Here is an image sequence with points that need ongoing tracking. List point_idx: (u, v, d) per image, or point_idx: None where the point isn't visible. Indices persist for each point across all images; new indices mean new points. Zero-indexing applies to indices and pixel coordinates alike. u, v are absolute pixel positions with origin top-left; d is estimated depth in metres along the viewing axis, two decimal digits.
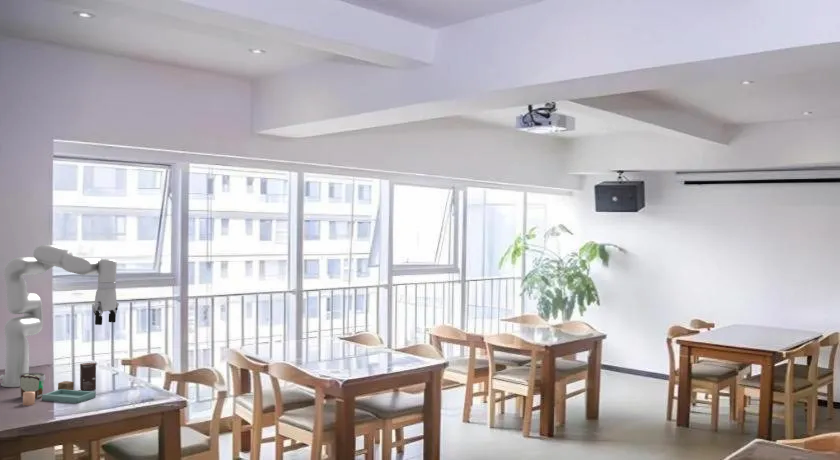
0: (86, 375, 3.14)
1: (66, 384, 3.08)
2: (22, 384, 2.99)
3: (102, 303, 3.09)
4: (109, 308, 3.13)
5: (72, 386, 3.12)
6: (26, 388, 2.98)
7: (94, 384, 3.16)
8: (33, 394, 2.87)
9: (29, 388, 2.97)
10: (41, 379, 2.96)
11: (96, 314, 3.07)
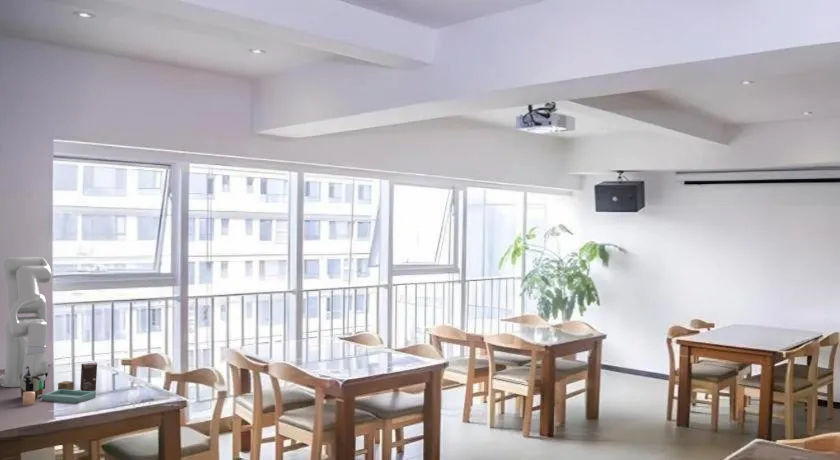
0: (87, 375, 3.14)
1: (66, 384, 3.08)
2: (22, 384, 2.99)
3: (31, 369, 2.95)
4: (39, 373, 2.99)
5: (72, 386, 3.12)
6: None
7: (95, 385, 3.16)
8: (33, 394, 2.87)
9: None
10: (41, 379, 2.96)
11: (26, 382, 2.95)
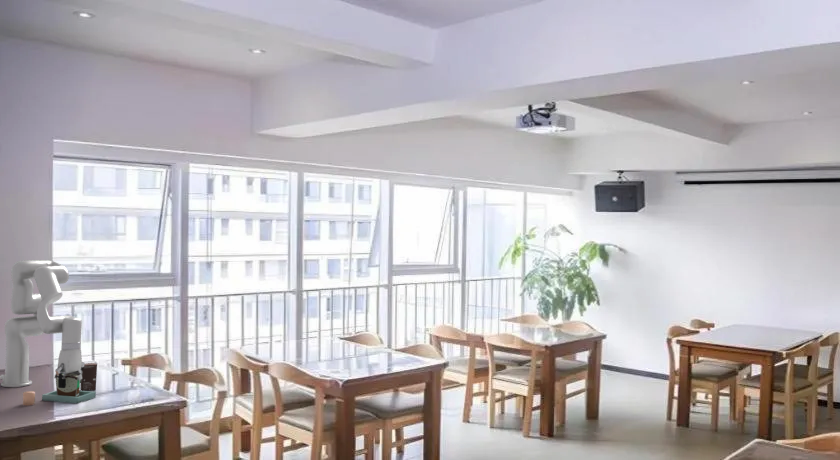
0: (87, 375, 3.14)
1: None
2: None
3: (66, 365, 2.93)
4: (73, 369, 2.98)
5: None
6: (63, 388, 2.97)
7: (95, 385, 3.16)
8: (33, 394, 2.87)
9: (67, 387, 2.97)
10: (79, 378, 2.96)
11: (59, 377, 2.92)
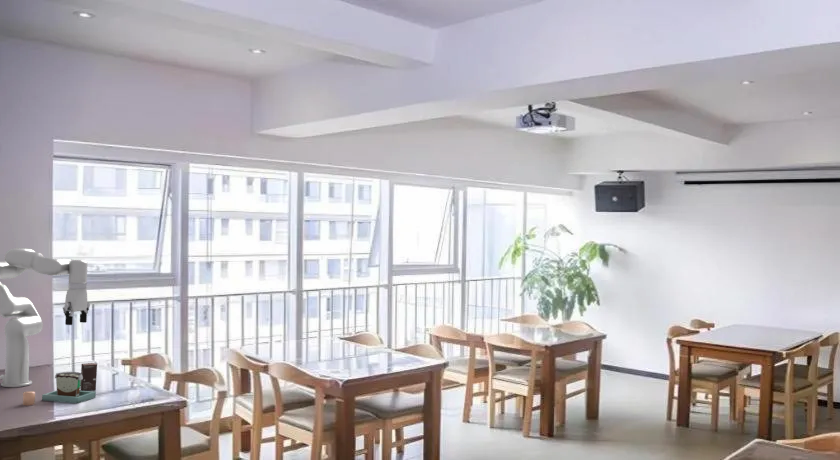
0: (87, 375, 3.14)
1: None
2: (58, 384, 2.98)
3: (72, 303, 3.11)
4: (80, 308, 3.15)
5: None
6: (63, 388, 2.98)
7: (95, 385, 3.16)
8: (33, 394, 2.87)
9: (67, 387, 2.97)
10: (80, 378, 2.97)
11: (66, 314, 3.10)
